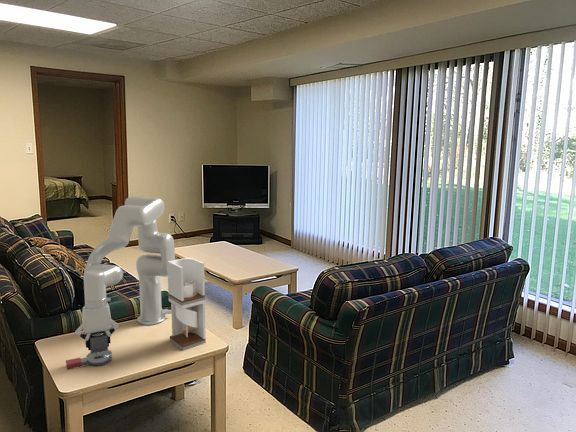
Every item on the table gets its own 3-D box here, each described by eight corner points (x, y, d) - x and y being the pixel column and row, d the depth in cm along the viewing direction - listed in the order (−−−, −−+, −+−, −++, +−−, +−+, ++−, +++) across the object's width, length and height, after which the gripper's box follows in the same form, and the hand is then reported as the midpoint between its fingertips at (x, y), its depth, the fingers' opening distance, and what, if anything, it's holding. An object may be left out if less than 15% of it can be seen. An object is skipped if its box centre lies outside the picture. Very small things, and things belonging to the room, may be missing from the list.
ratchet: (109, 353, 183) (109, 340, 182) (113, 362, 176) (113, 349, 175) (65, 362, 175) (64, 348, 174) (67, 373, 168) (66, 358, 167)
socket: (105, 343, 180) (104, 327, 179) (108, 350, 175) (107, 333, 174) (89, 347, 177) (88, 330, 176) (91, 353, 172) (90, 336, 171)
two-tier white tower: (169, 340, 195) (167, 261, 189) (191, 333, 202) (190, 257, 196) (183, 350, 187) (180, 267, 180) (205, 342, 194) (204, 263, 187)
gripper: (118, 295, 180) (120, 338, 184) (69, 303, 172) (72, 347, 175) (121, 302, 174) (123, 346, 177) (71, 309, 166) (74, 356, 169)
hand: (98, 346), depth 176 cm, fingers closed on socket, 6 cm apart
